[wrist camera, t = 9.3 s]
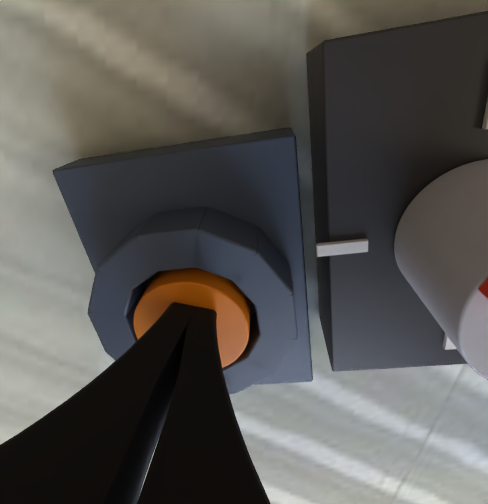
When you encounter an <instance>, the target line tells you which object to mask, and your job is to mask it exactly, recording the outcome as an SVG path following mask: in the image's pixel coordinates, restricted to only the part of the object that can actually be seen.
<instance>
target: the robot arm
mask: <svg viewBox="0 0 488 504" xmlns="http://www.w3.org/2000/svg"><path fill="white" fill-rule="evenodd" d="M216 319H217V313H216V312H215V310H213V309H208V308H202V307H197V306H192V305H187V304H182V303H177V302H173V303H172V304H170V305H169V306H168V308H167V309H166V310H165V311H164V313H163V314H162V315H161V316H160V317H159V319H158V320H157V321H156V322H155V323H154V324H153V325H152V326H151V327H150V328H149V329H148V330H147V331H146V332H145V333H144V334H143V335H142V336H141V337H140V338H139V339H138V340H137V341H136V342H135V343H134V344H133V345H132V346H131V347H130V348H129V349H128V350H127V351H126V352H125V353H124V354H123V355H122V356H120V357H119V358H118V359H117V360H116V361H115V362H114V363H113V364H111V365H110V366H109V367H108V368H107V369H106V370H105V371H103V372H102V373H101V374H100V375H99V376H97V377H96V378H95V379H94V380H93V381H91V382H90V383H89V384H88V385H86V386H85V387H84V388H82V389H81V390H80V391H79V392H77V393H76V394H75V395H73V396H72V397H71V398H69V399H68V400H67V401H65V402H64V403H62V404H61V405H60V406H58V407H57V408H55V409H54V410H52V411H51V412H50V413H48V414H47V415H45V416H44V417H43V418H41V419H40V420H38V421H37V422H35V423H34V424H32V425H31V426H29V427H28V428H26V429H25V430H23V431H22V432H20V433H19V434H17V435H16V436H14V437H12V438H11V439H9V440H8V441H6V442H4V443H3V444H1V445H0V504H270V502H269V499H268V497H267V495H266V492H265V490H264V488H263V485H262V483H261V481H260V479H259V476H258V474H257V472H256V469H255V467H254V465H253V463H252V460H251V458H250V455H249V453H248V450H247V447H246V445H245V442H244V439H243V437H242V434H241V431H240V428H239V425H238V423H237V420H236V417H235V414H234V410H233V407H232V404H231V400H230V397H229V393H228V389H227V386H226V382H225V378H224V373H223V369H222V364H221V358H220V353H219V347H218V339H217V328H216ZM160 433H161V434H160ZM159 436H160V437H159ZM158 439H159V440H158ZM157 442H158V443H157ZM156 444H157V446H156ZM155 447H156V449H155ZM154 450H155V452H154ZM153 452H154V455H153ZM152 455H153V458H152ZM151 458H152V461H151V464H150V467H149V470H148V473H147V476H146V479H145V482H144V485H143V481H144V478H145V475H146V472H147V469H148V466H149V463H150V460H151ZM142 485H143V488H142ZM141 488H142V491H141ZM140 492H141V493H140ZM139 495H140V496H139Z"/></svg>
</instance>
